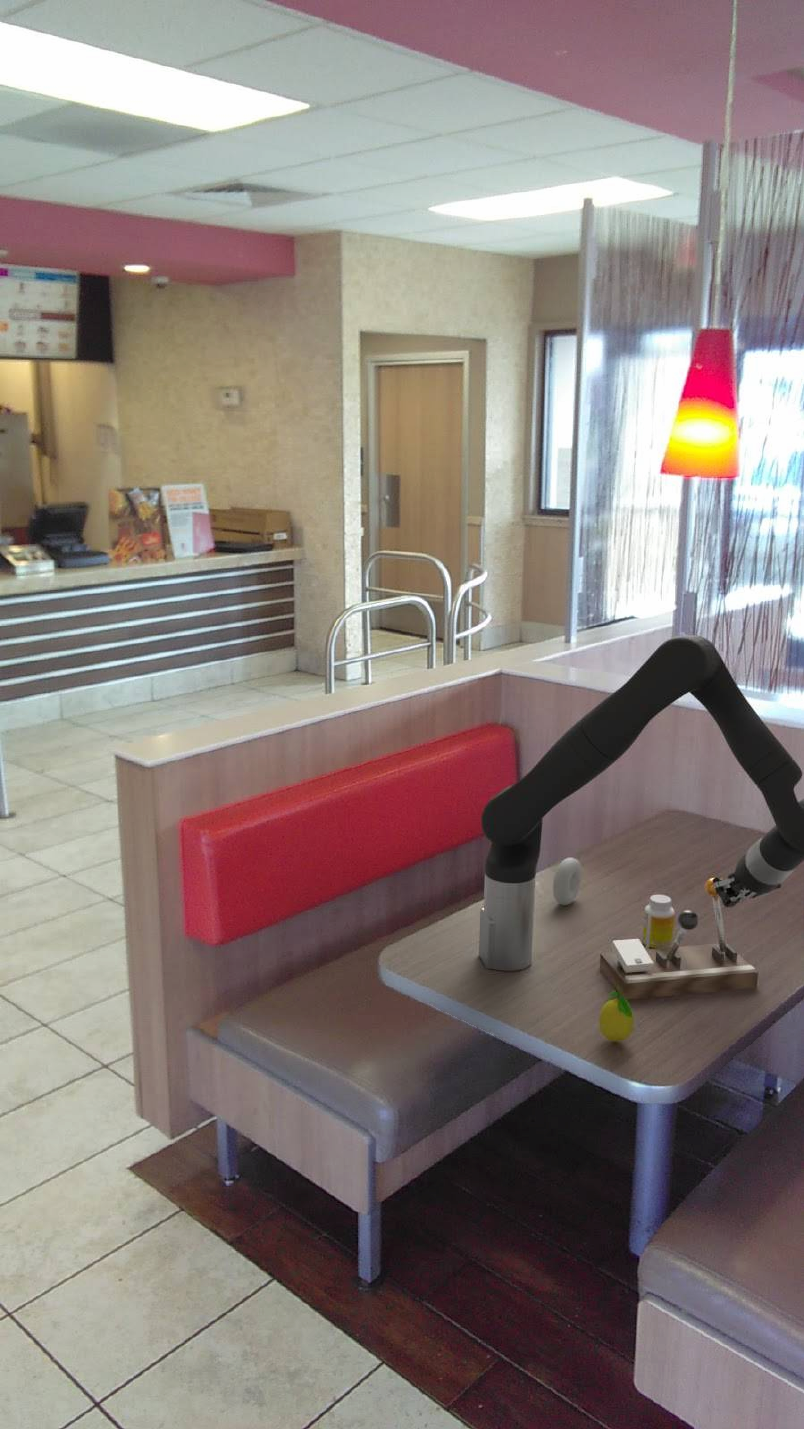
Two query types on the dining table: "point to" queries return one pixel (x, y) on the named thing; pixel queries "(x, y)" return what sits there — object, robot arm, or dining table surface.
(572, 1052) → the dining table surface
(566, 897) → the donut
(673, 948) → the lever black
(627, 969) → the block
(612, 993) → the lemon
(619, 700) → the robot arm
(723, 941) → the lever orange
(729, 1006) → the dining table surface
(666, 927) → the supplement bottle
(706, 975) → the panel
